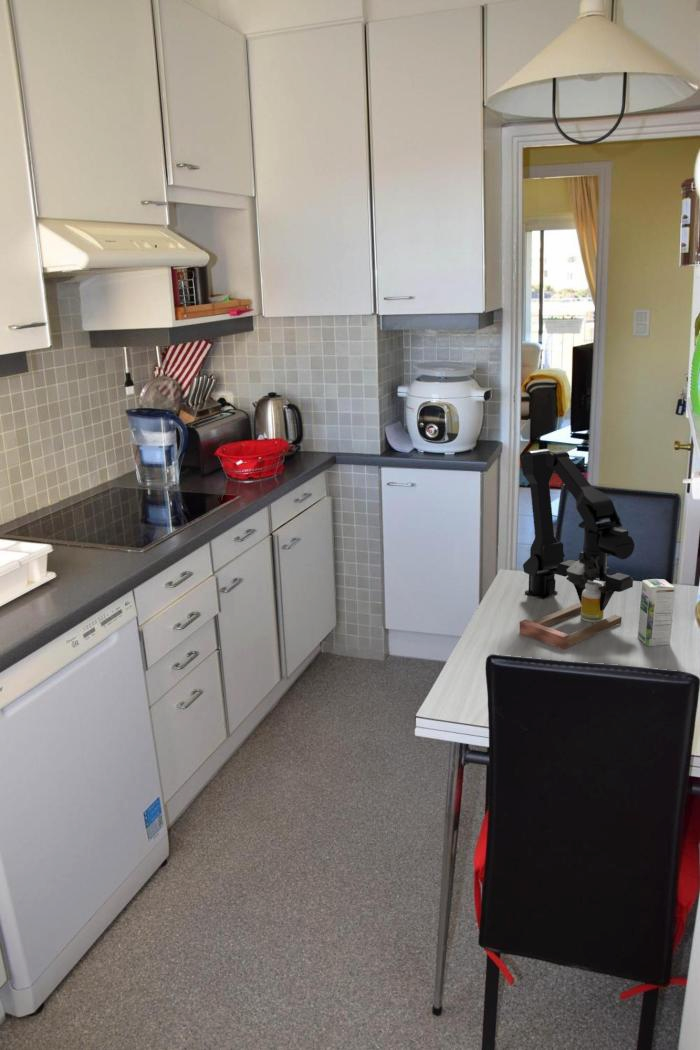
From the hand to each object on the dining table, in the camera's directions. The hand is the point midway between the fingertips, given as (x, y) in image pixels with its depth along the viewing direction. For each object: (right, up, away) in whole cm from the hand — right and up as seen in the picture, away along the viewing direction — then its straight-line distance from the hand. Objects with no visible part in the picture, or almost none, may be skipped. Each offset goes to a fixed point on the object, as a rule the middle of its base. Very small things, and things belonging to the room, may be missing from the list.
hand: (592, 607), depth 212 cm
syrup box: (+11, -7, -13) cm, 18 cm away
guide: (-6, -4, -4) cm, 8 cm away
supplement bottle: (0, -3, +1) cm, 3 cm away
